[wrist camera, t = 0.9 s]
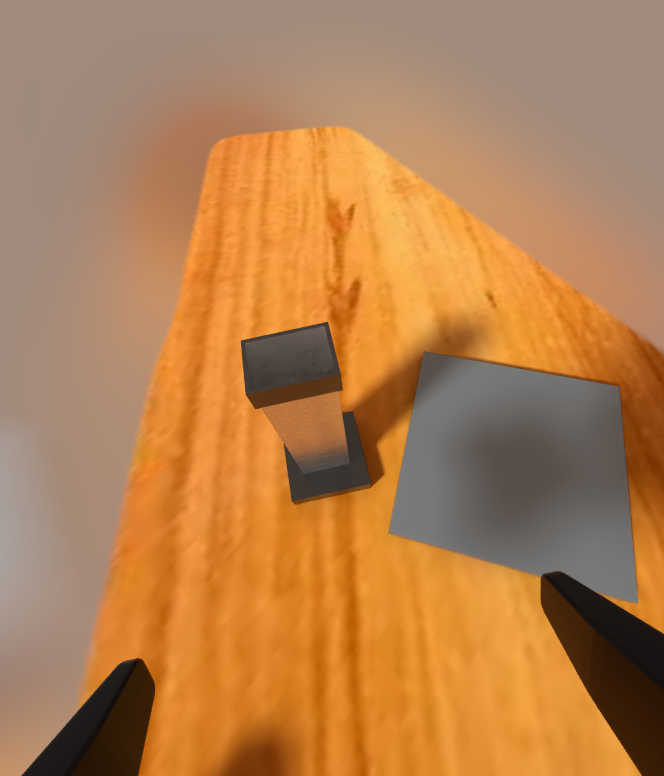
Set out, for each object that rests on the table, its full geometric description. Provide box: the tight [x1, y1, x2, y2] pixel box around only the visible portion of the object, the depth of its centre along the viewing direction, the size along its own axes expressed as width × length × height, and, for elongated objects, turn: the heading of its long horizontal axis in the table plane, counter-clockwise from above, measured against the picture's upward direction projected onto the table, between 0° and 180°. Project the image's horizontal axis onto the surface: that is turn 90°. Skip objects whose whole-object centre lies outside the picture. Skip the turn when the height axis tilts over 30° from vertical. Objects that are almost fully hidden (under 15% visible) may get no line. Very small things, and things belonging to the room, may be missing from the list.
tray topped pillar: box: [241, 322, 371, 505], centre depth 18 cm, size 5×5×13 cm
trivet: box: [388, 352, 638, 603], centre depth 23 cm, size 13×13×1 cm
